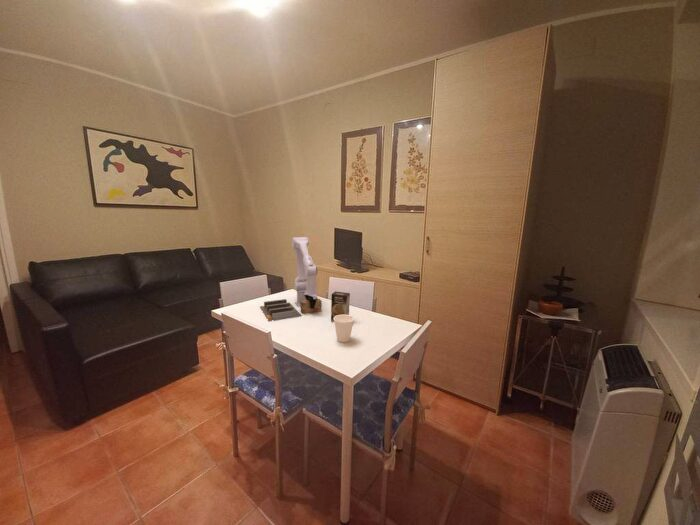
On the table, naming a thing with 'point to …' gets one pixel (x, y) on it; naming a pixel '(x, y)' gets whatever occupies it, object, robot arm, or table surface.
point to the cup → (343, 327)
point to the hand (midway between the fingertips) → (311, 307)
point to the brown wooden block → (306, 307)
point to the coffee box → (339, 304)
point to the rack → (279, 310)
